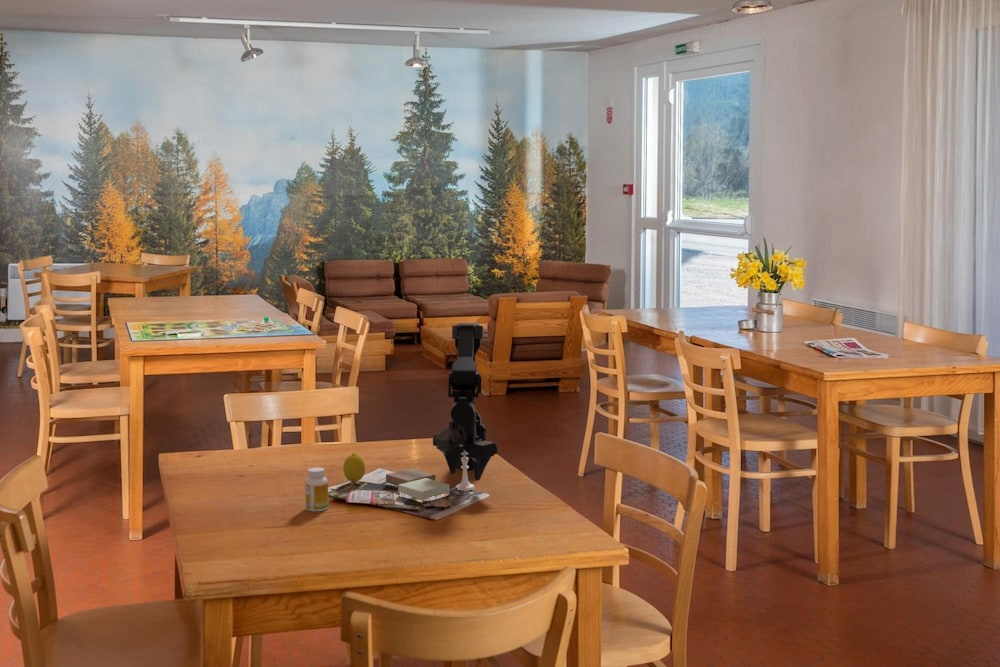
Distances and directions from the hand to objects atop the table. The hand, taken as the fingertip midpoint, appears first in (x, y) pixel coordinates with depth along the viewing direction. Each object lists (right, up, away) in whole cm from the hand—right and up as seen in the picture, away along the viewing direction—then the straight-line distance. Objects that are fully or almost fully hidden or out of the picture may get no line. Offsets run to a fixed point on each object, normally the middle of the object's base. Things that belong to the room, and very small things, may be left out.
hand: (465, 477), depth 282 cm
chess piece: (0, -3, 0) cm, 3 cm away
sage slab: (-10, -4, -7) cm, 13 cm away
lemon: (-29, -3, +6) cm, 30 cm away
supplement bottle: (-35, -6, -17) cm, 39 cm away
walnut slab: (-14, -3, +3) cm, 15 cm away
